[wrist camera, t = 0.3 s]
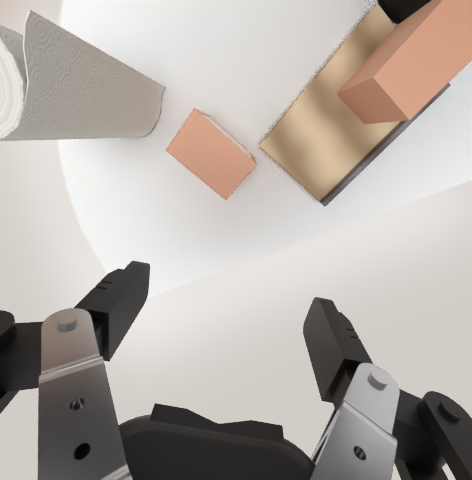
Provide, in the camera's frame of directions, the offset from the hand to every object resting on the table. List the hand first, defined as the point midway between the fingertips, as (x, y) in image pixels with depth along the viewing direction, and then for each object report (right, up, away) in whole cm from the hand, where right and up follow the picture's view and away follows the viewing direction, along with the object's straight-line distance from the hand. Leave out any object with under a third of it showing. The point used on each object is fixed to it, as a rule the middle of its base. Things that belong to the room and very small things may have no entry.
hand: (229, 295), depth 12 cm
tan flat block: (+13, +18, +20) cm, 30 cm away
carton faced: (+17, +21, +16) cm, 31 cm away
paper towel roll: (-12, +19, +20) cm, 31 cm away
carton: (-2, +15, +22) cm, 26 cm away
